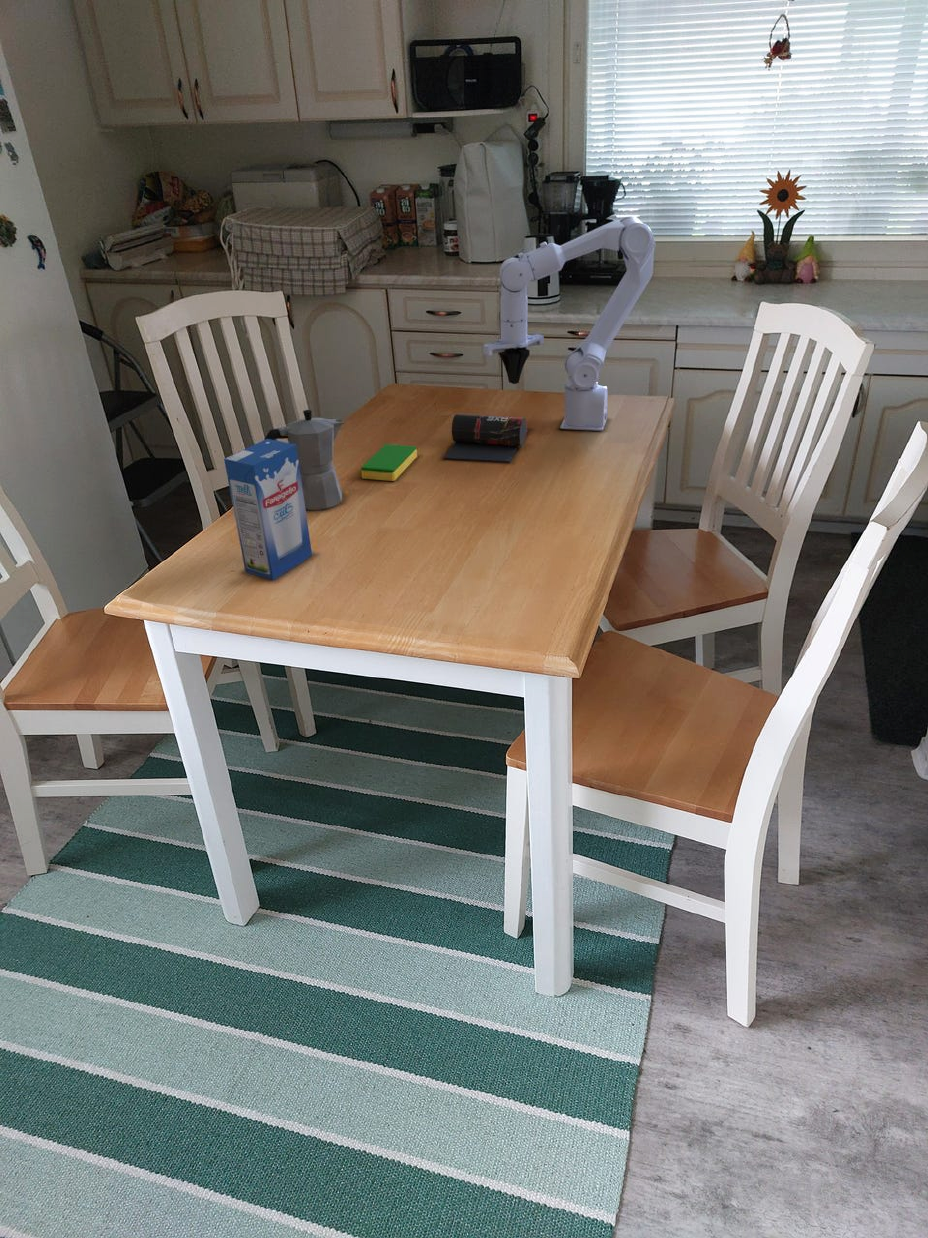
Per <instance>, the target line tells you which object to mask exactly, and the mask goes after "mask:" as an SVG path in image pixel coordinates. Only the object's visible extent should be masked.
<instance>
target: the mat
mask: <svg viewBox="0 0 928 1238" xmlns="http://www.w3.org/2000/svg"><path fill="white" fill-rule="evenodd" d="M528 431H529V428H528V427H526V434H527V433H528ZM519 447H520V446H508V445H494V444H480V443H466V442H455V441H454V443H453V445H452V446H451V448H450V449H449V450H448V451H447V453H446V455H445V456H444V458H443V460H446V461H447V460H448V461H468V462H485V463H486V462H487V463H500V464H501V463H502V464H503V463H504V464H510V463H511V461H512V459H513V458H514V456H515V454H516V452H517V451H518V450H519Z"/></svg>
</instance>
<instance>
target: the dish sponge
mask: <svg viewBox="0 0 928 1238" xmlns="http://www.w3.org/2000/svg"><path fill="white" fill-rule="evenodd" d="M417 458H418V449H417V446H416V445H407V444H405V445H403V444H390V443H386V444H384V445H383V446H382V447H380V449H378V451H377V452H376V453H374V455H373V456H372V457H371V458H369V459H368V460H367V461H366V462H365V463H364V464H363V465H362V466H361V467H360V470H361V471H360V472H361V478H362V479H365V480H376V481H390V482H394V481H396V480H397V479H398V478H399V477H400V476H401V474H402V473H403V472H404V471H405V470H407V468H408V467H409V466H410V465H411V464H412V463H413V462H414V461H415V459H417Z"/></svg>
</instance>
